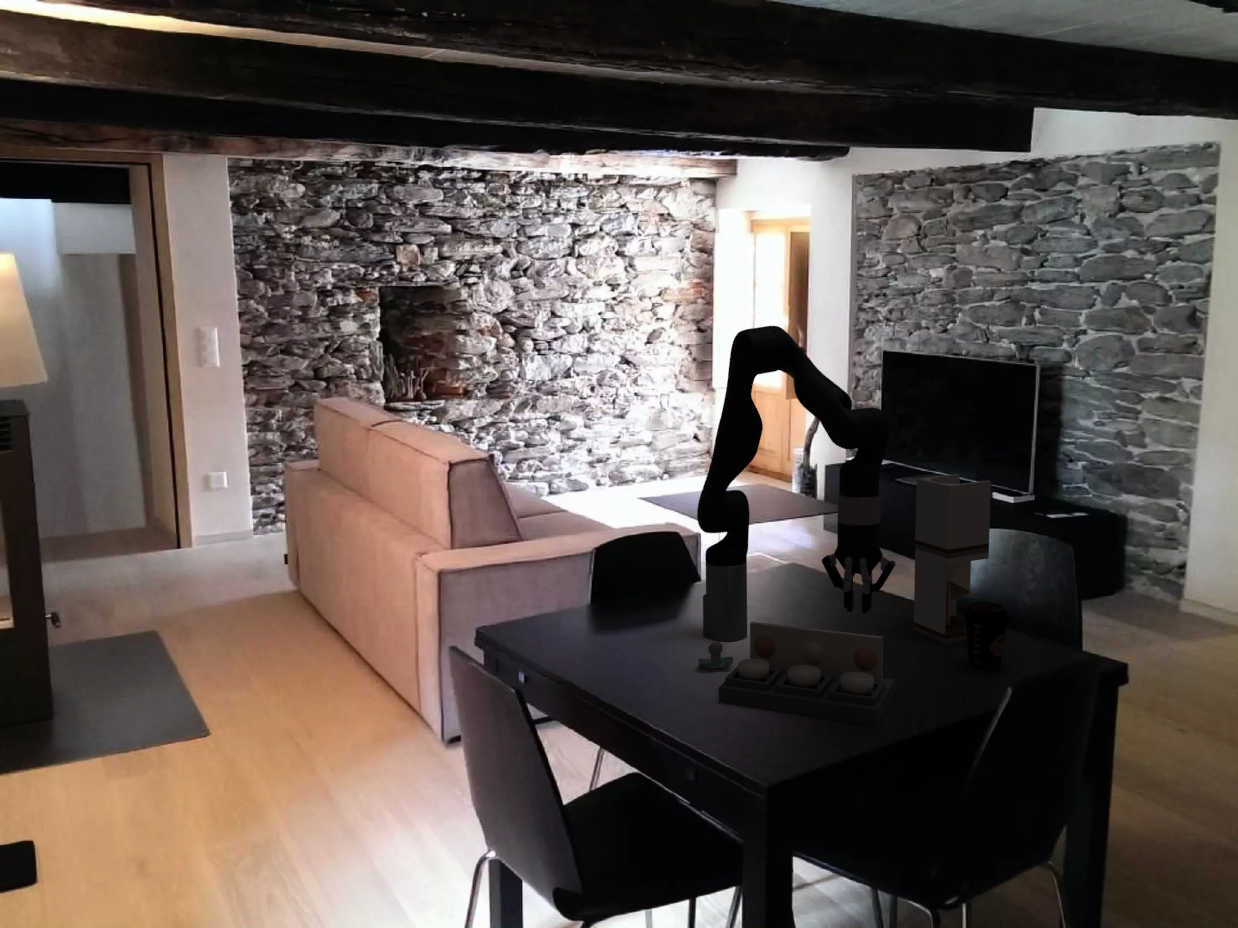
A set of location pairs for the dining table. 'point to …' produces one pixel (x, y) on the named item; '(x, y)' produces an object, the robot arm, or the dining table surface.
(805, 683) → the button middle
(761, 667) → the button left
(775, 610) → the dining table surface
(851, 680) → the button right
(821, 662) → the button board
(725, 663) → the pacifier
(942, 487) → the display case
